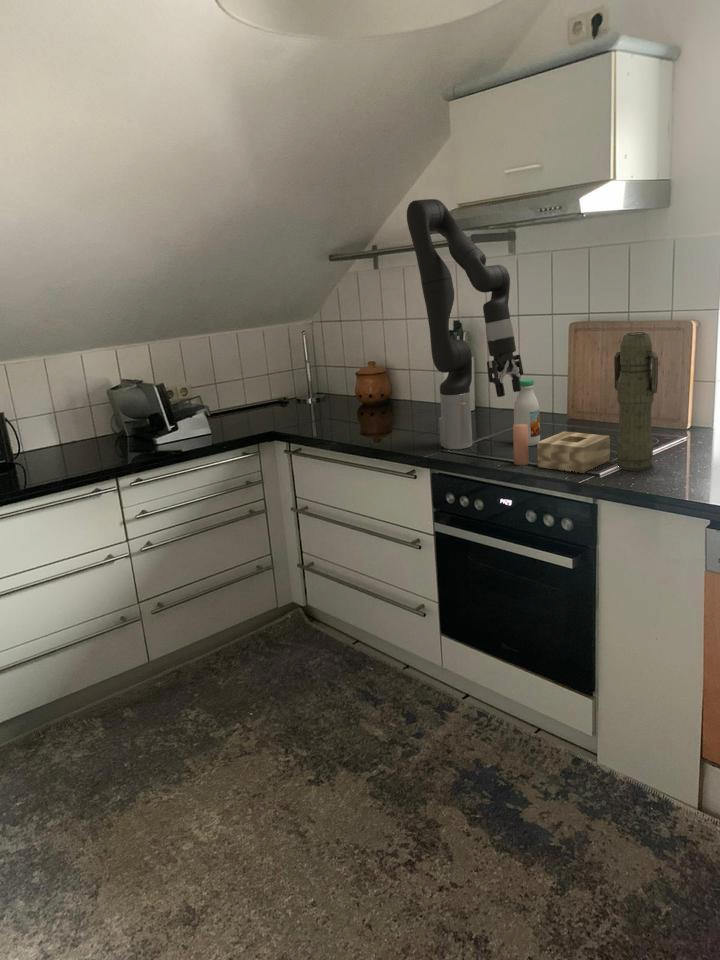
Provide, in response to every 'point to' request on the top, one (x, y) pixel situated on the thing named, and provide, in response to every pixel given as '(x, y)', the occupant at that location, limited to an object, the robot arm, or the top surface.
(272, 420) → the top surface
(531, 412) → the milk bottle
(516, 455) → the dowel pin
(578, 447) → the bore block
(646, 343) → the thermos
